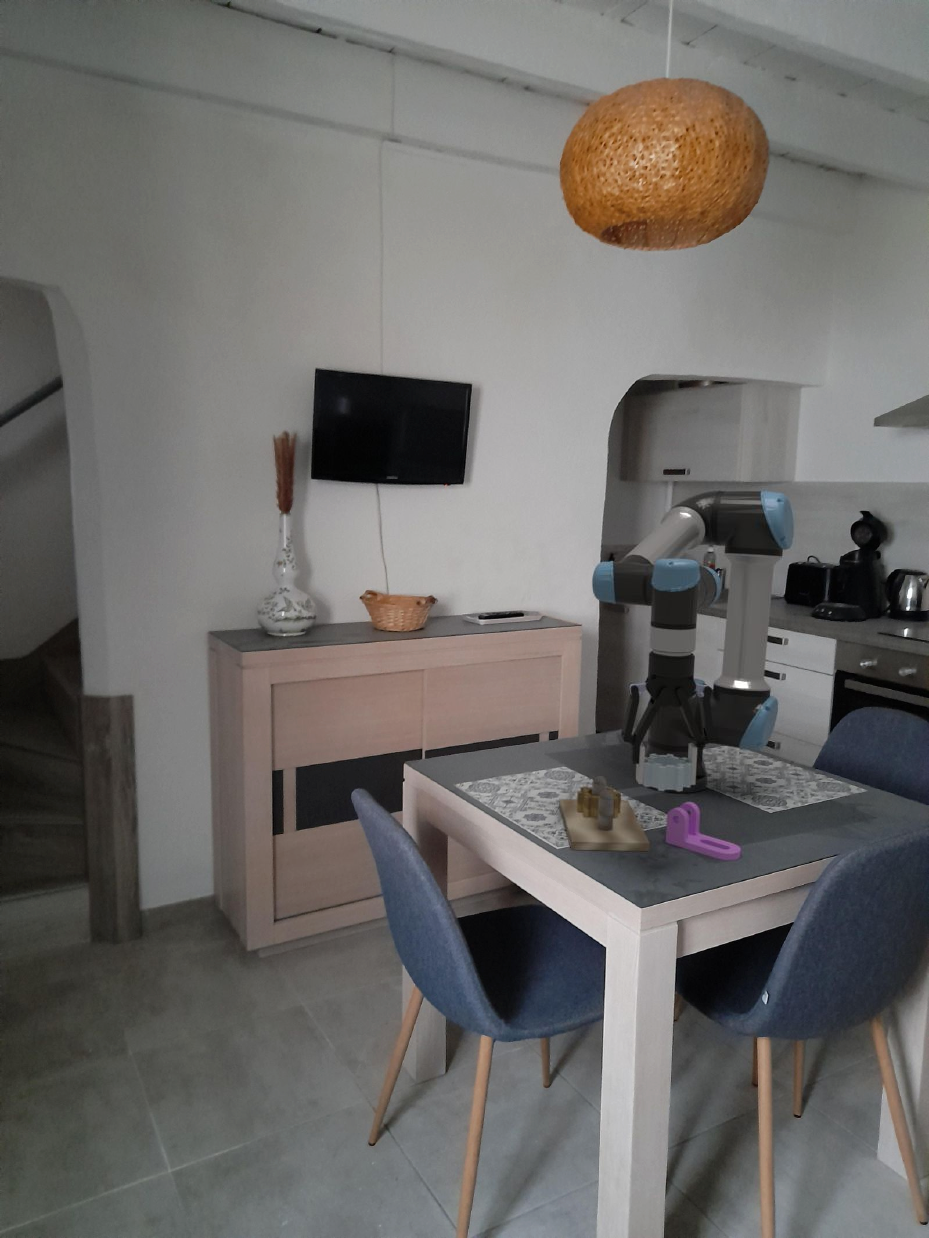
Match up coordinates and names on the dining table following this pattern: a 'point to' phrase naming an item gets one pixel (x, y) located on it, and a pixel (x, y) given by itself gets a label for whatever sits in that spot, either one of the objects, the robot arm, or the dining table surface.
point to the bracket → (696, 834)
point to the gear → (667, 772)
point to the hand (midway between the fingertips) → (665, 781)
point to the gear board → (603, 838)
